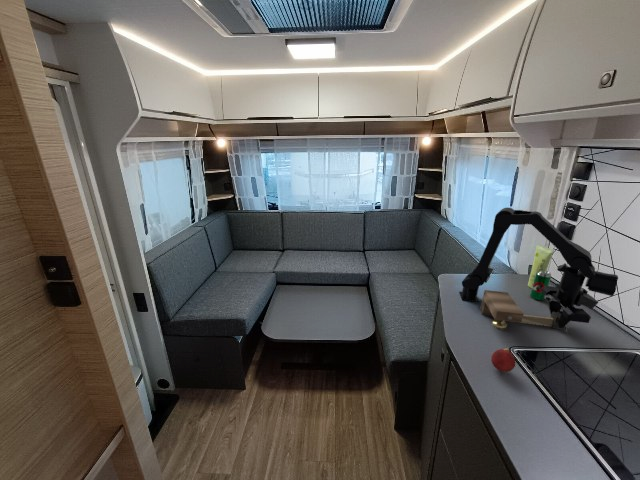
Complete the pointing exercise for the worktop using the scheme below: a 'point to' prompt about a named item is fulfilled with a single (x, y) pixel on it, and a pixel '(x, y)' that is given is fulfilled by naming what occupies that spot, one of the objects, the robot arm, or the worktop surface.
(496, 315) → the walnut cabinet
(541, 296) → the soda can
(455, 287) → the worktop surface
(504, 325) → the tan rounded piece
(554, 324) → the wooden mallet
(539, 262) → the tube
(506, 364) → the onion
